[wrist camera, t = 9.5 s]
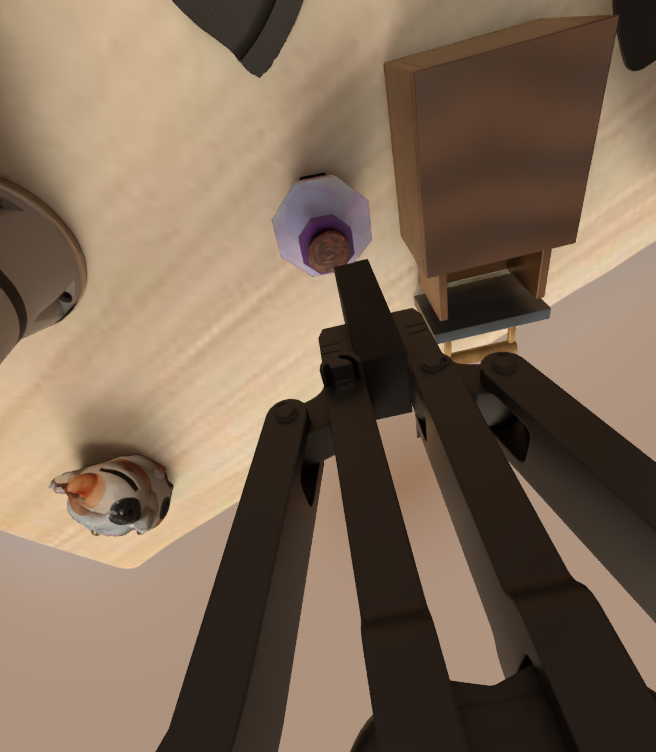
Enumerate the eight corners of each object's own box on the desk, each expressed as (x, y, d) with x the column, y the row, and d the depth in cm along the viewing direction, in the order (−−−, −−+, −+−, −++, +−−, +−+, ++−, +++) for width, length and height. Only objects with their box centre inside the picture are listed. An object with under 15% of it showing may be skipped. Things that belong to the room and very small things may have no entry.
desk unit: (523, 205, 41) (575, 243, 34) (400, 236, 42) (426, 279, 35) (541, 18, 32) (620, 14, 24) (383, 62, 32) (413, 71, 25)
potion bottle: (305, 262, 43) (312, 324, 34) (253, 190, 38) (245, 240, 29) (376, 216, 40) (405, 270, 31) (331, 132, 35) (350, 167, 26)
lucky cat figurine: (66, 485, 63) (6, 537, 49) (107, 423, 62) (57, 459, 48) (152, 532, 66) (118, 593, 52) (193, 474, 64) (168, 521, 51)
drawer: (510, 324, 50) (541, 364, 44) (418, 345, 50) (436, 387, 44) (526, 150, 37) (574, 173, 31) (403, 182, 38) (427, 210, 32)
